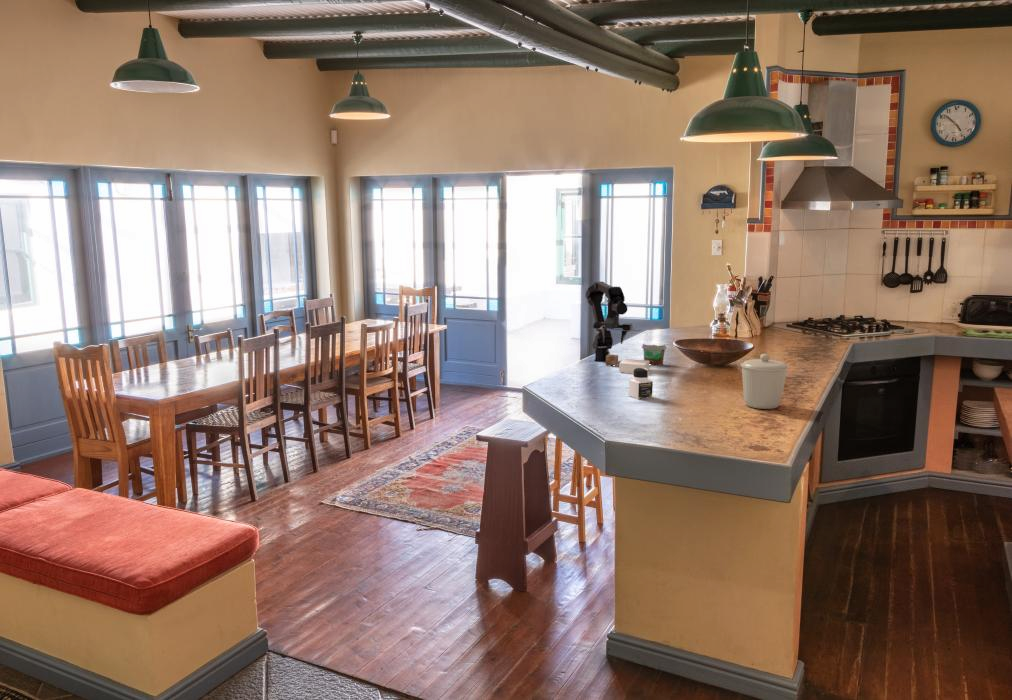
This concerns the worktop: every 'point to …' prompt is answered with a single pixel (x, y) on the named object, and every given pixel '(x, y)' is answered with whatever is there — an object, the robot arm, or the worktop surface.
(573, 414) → the worktop surface
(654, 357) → the food container
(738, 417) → the worktop surface
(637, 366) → the plastic box
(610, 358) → the walnut cube
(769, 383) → the canister
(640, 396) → the medicine bottle
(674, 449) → the worktop surface
